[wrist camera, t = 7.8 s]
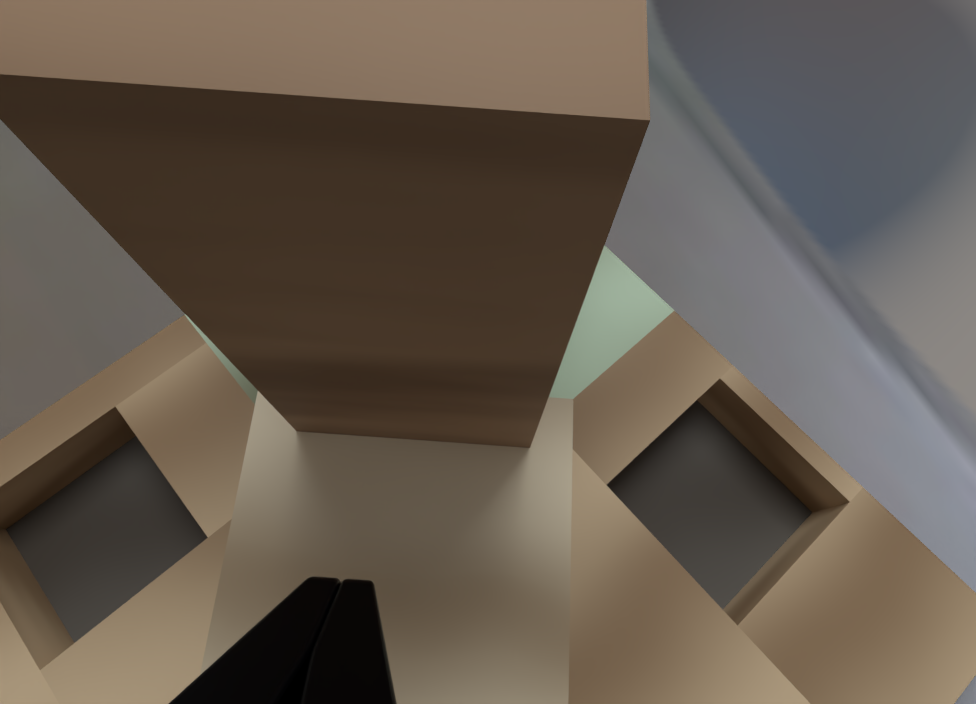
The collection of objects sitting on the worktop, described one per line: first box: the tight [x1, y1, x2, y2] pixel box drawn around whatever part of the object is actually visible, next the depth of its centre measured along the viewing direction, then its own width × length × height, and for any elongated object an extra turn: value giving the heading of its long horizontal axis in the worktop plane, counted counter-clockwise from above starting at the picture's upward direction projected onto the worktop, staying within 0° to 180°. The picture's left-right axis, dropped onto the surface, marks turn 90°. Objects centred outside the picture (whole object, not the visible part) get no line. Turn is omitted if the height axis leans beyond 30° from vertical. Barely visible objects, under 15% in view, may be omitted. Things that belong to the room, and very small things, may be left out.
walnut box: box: [0, 0, 650, 448], centre depth 11 cm, size 6×6×11 cm
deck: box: [0, 245, 976, 704], centre depth 15 cm, size 18×18×2 cm
